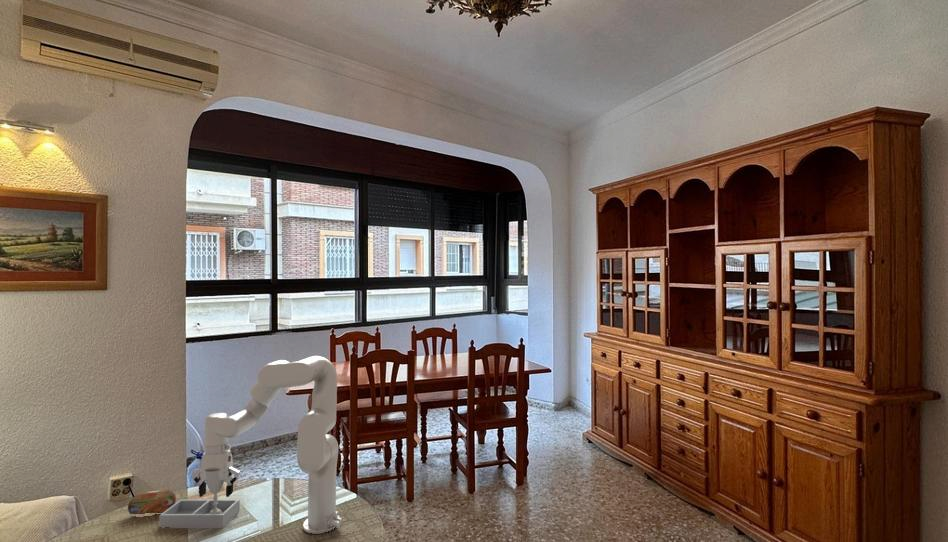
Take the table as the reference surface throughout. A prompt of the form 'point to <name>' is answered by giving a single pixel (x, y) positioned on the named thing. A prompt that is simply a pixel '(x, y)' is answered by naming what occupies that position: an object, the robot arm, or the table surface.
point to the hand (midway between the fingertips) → (215, 495)
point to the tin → (151, 502)
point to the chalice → (214, 488)
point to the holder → (199, 514)
